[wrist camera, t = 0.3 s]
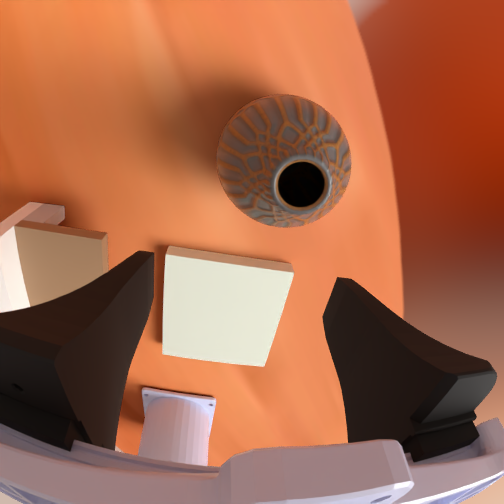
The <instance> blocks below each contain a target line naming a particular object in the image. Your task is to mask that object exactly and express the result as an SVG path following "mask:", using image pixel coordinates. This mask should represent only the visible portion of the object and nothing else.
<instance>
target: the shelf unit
mask: <svg viewBox="0 0 504 504" xmlns="http://www.w3.org/2000/svg"><path fill="white" fill-rule="evenodd" d="M64 219H65V208H64V206H60V205H52V204H44V203H36V202H29V203H27V204H26V205H25V206H23V207H22V208H20V209H19V210H17V211H16V212H14V213H13V214H12V215H10V216H9V217H7V218H6V219H5V220H3V221H2V222H1V223H0V312H1V313H2V312H8V311H13V310H19V309H23V308H27V307H31V306H35V305H38V304H41V303H44V302H47V301H50V300H53V299H55V298H58V297H60V296H63V295H66V294H68V293H70V292H72V291H74V290H76V289H79V288H81V287H83V286H84V285H86V284H88V283H90V282H92V281H93V280H95V279H97V278H98V277H100V276H101V275H103V274H105V273H106V272H108V271H109V264H108V236H107V233H106V232H99V231H92V230H86V229H79V228H72V227H66V226H59V225H58V224H59V223H60V222H61V221H63V220H64Z"/></svg>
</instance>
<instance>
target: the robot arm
mask: <svg viewBox="0 0 504 504" xmlns="http://www.w3.org/2000/svg"><path fill="white" fill-rule="evenodd" d="M153 297H154V253H153V252H146V251H137V252H136V253H134V254H133V255H131V256H130V257H129V258H127V259H126V260H124V261H123V262H121V263H120V264H118V265H117V266H115V267H114V268H113V269H111V270H110V271H108V272H106V273H105V274H103V275H101V276H100V277H98V278H97V279H95V280H93V281H92V282H90V283H88V284H86V285H84V286H83V287H81V288H79V289H76V290H74V291H72V292H70V293H68V294H66V295H63V296H60V297H58V298H55V299H53V300H50V301H47V302H44V303H41V304H38V305H35V306H31V307H27V308H23V309H19V310H13V311H8V312H2V313H0V491H1V492H2V493H4V494H6V495H8V496H10V497H11V498H13V499H15V500H17V501H19V502H21V503H23V504H458V503H460V502H462V501H464V500H466V499H468V498H470V497H472V496H474V495H476V494H478V493H479V492H481V491H482V490H484V489H485V488H487V487H488V486H490V485H491V484H493V483H494V482H495V481H497V480H498V479H499V478H501V477H502V476H503V475H504V428H503V426H502V424H501V423H500V421H499V419H498V418H493V419H491V420H488V421H485V422H483V423H481V424H479V425H477V426H476V427H475V425H474V423H473V421H474V420H475V419H476V417H477V416H476V414H475V412H474V410H475V408H476V407H477V406H478V405H479V404H480V403H481V402H482V401H483V399H484V398H485V397H486V396H487V395H488V394H489V392H490V391H491V390H492V388H493V386H494V385H495V382H496V379H497V373H496V372H495V370H494V369H493V367H492V366H491V364H490V363H489V362H488V361H487V360H483V359H480V358H477V357H474V356H471V355H468V354H465V353H463V352H460V351H458V350H456V349H453V348H451V347H449V346H447V345H444V344H442V343H440V342H439V341H437V340H435V339H433V338H431V337H429V336H428V335H426V334H424V333H422V332H421V331H419V330H417V329H416V328H414V327H413V326H412V325H410V324H408V323H407V322H406V321H404V320H403V319H402V318H400V317H399V316H398V315H396V314H395V313H394V312H392V311H391V310H390V309H389V308H387V307H386V306H385V305H384V304H382V303H381V302H380V301H379V300H378V299H376V298H375V297H374V296H373V295H372V294H370V293H369V292H368V291H367V290H366V289H364V288H363V287H362V286H360V285H359V284H358V283H356V282H355V281H353V280H352V279H349V278H340V277H337V279H336V282H335V285H334V288H333V290H332V293H331V296H330V298H329V301H328V304H327V306H326V309H325V311H324V314H323V324H324V330H325V336H326V340H327V343H328V346H329V350H330V353H331V356H332V359H333V362H334V365H335V368H336V372H337V375H338V378H339V381H340V385H341V389H342V395H343V401H344V407H345V414H346V423H347V433H348V443H344V444H332V445H317V446H289V447H270V448H259V449H252V450H249V451H245V452H242V453H239V454H235V455H233V456H232V457H231V458H230V459H228V460H227V461H226V462H225V463H224V464H223V465H222V466H221V467H214V466H207V464H208V439H209V436H210V431H211V426H212V421H213V416H214V410H215V405H216V399H215V398H213V397H206V396H198V395H190V394H183V393H176V392H170V391H164V390H158V389H152V388H147V387H144V388H142V399H143V406H144V413H145V420H144V425H143V430H142V435H141V441H140V446H139V452H138V456H136V455H132V454H127V453H122V452H118V451H115V443H116V435H117V428H118V421H119V415H120V409H121V404H122V398H123V393H124V388H125V384H126V380H127V375H128V371H129V368H130V364H131V361H132V359H133V356H134V353H135V351H136V348H137V345H138V343H139V340H140V338H141V335H142V333H143V330H144V327H145V325H146V322H147V320H148V317H149V313H150V309H151V305H152V301H153Z"/></svg>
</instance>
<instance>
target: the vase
mask: <svg viewBox="0 0 504 504" xmlns="http://www.w3.org/2000/svg"><path fill="white" fill-rule="evenodd" d="M216 164H217V171H218V176H219V179H220V182H221V184H222V187H223V189H224V191H225V193H226V194H227V196H228V197H229V199H230V200H231V201H232V202H233V203H234V205H235V206H236V207H237V208H238V209H239V210H241V211H242V212H243V213H244V214H246V215H247V216H249V217H250V218H252V219H254V220H256V221H258V222H261V223H263V224H266V225H270V226H274V227H298V226H303V225H306V224H309V223H312V222H314V221H316V220H318V219H320V218H321V217H323V216H324V215H326V214H327V213H328V212H329V211H331V210H332V209H333V208H334V206H335V205H336V204H337V203H338V202H339V200H340V199H341V197H342V196H343V194H344V192H345V190H346V187H347V185H348V182H349V178H350V173H351V153H350V148H349V144H348V141H347V139H346V136H345V134H344V132H343V130H342V128H341V127H340V125H339V124H338V122H337V121H336V120H335V118H334V117H333V116H332V115H331V114H330V113H329V112H327V111H326V110H325V109H324V108H322V107H321V106H320V105H318V104H316V103H315V102H313V101H311V100H308V99H306V98H303V97H299V96H294V95H286V94H277V95H270V96H265V97H262V98H259V99H256V100H254V101H252V102H250V103H248V104H247V105H245V106H244V107H242V108H241V109H240V110H238V111H237V112H236V113H235V114H234V115H233V116H232V117H231V119H230V120H229V121H228V123H227V124H226V126H225V128H224V129H223V131H222V134H221V136H220V139H219V142H218V147H217V155H216Z"/></svg>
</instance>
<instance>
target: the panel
mask: <svg viewBox="0 0 504 504" xmlns="http://www.w3.org/2000/svg"><path fill="white" fill-rule="evenodd" d="M293 275H294V270H293V267H292V264H291V263H284V262H277V261H270V260H263V259H256V258H249V257H243V256H236V255H229V254H222V253H215V252H209V251H202V250H195V249H189V248H182V247H175V246H169V247H168V250H167V252H166V256H165V274H164V297H163V354H165V355H171V356H177V357H184V358H191V359H198V360H206V361H214V362H222V363H231V364H241V365H252V366H265V363H266V360H267V357H268V354H269V351H270V348H271V345H272V342H273V339H274V336H275V333H276V330H277V326H278V323H279V320H280V317H281V314H282V311H283V308H284V305H285V301H286V298H287V295H288V292H289V288H290V285H291V282H292V279H293Z"/></svg>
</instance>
